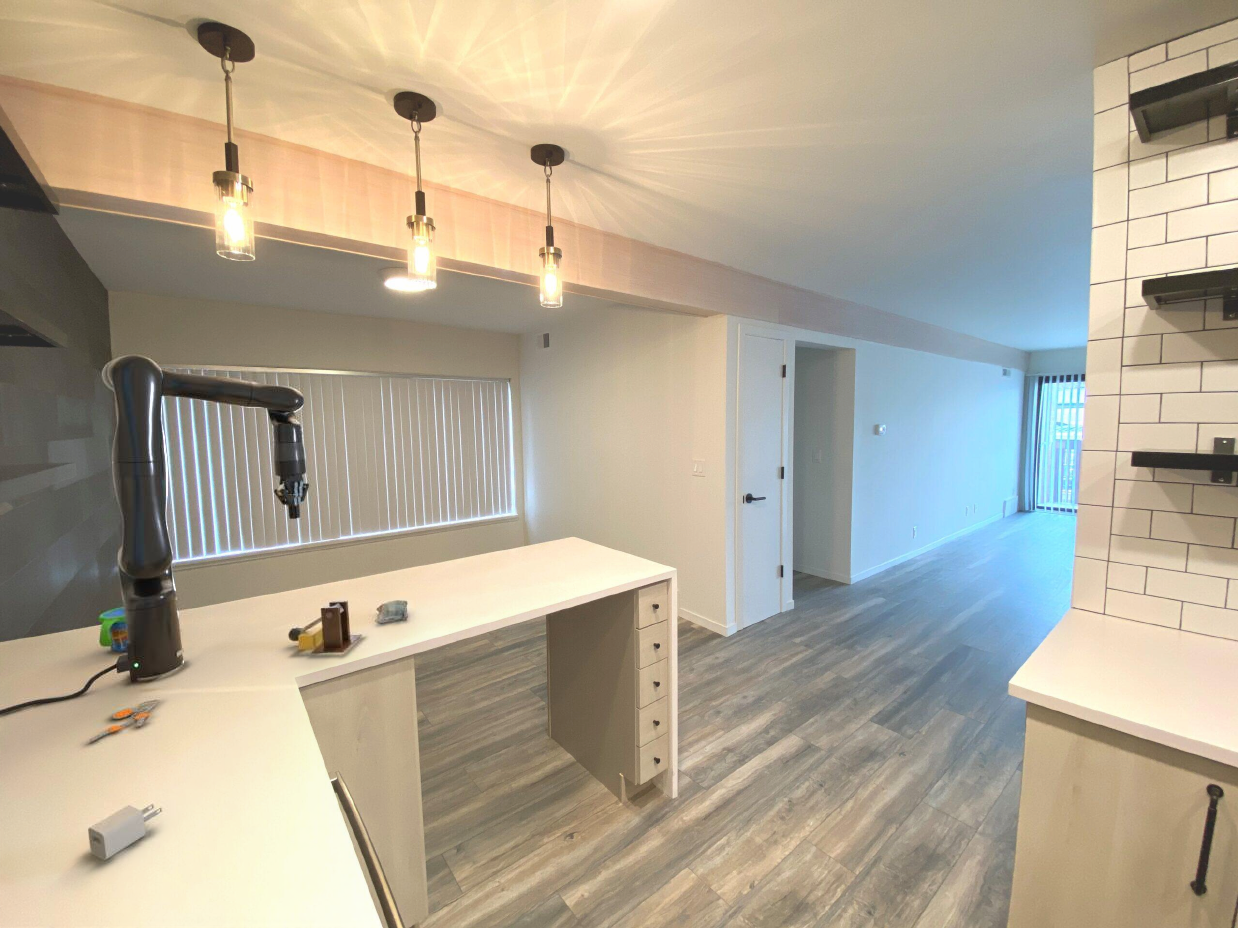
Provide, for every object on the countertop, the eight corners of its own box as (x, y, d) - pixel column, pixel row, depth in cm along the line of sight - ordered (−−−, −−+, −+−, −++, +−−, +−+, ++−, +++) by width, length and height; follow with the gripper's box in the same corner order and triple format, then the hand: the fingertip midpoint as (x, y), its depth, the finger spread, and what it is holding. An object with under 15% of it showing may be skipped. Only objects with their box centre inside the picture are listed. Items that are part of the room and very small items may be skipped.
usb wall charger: (90, 852, 71) (87, 826, 70) (151, 815, 77) (148, 791, 77) (107, 861, 69) (103, 834, 69) (167, 823, 76) (164, 798, 75)
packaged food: (375, 629, 144) (374, 612, 143) (377, 614, 155) (376, 599, 154) (408, 624, 147) (407, 607, 147) (407, 610, 158) (407, 595, 158)
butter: (293, 655, 129) (292, 638, 128) (311, 641, 137) (310, 625, 136) (312, 655, 129) (311, 637, 128) (329, 641, 137) (328, 624, 136)
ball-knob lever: (290, 646, 131) (282, 634, 130) (298, 639, 134) (290, 628, 134) (339, 616, 130) (331, 605, 130) (346, 611, 134) (339, 599, 134)
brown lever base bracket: (311, 656, 128) (307, 612, 127) (332, 639, 138) (329, 597, 137) (343, 655, 128) (339, 611, 127) (362, 638, 138) (359, 596, 137)
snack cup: (137, 634, 143) (133, 600, 142) (175, 633, 144) (171, 598, 143) (81, 661, 128) (76, 622, 127) (124, 659, 128) (119, 621, 127)
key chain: (123, 707, 106) (123, 703, 106) (166, 699, 109) (166, 696, 109) (84, 743, 95) (84, 739, 94) (134, 734, 97) (133, 730, 97)
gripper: (290, 456, 150) (295, 514, 151) (260, 460, 136) (266, 523, 138) (316, 456, 150) (320, 513, 151) (288, 460, 137) (294, 522, 138)
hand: (294, 518), depth 145 cm, fingers closed
